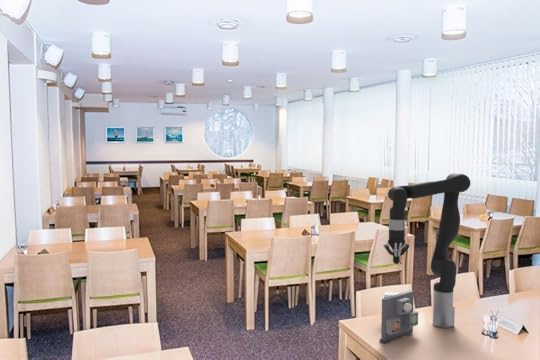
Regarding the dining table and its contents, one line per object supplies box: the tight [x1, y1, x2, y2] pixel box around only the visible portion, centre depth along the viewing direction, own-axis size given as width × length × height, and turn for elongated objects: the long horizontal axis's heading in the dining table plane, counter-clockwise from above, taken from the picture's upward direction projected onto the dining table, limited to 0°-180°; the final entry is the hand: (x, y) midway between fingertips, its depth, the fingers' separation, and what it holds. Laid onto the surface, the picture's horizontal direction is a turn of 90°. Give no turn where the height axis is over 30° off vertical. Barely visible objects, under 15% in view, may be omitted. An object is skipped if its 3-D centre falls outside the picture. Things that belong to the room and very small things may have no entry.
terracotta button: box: [392, 322, 399, 331], centre depth 215 cm, size 2×4×4 cm, turn 129°
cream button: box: [402, 302, 412, 313], centre depth 217 cm, size 2×4×4 cm, turn 129°
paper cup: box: [383, 291, 399, 299], centre depth 243 cm, size 8×8×14 cm
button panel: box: [379, 290, 419, 345], centre depth 220 cm, size 6×21×20 cm, turn 129°
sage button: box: [411, 315, 417, 324], centre depth 224 cm, size 2×4×4 cm, turn 129°
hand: (396, 263), depth 235 cm, fingers closed
